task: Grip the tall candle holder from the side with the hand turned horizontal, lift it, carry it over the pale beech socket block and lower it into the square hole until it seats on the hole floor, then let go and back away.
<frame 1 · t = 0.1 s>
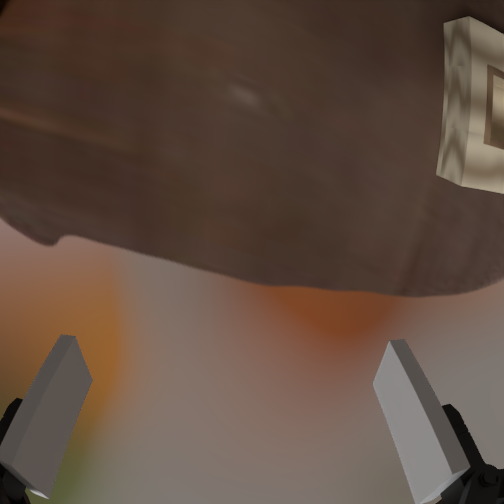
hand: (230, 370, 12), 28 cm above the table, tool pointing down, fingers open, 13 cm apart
socket block: (484, 109, 33), on the table
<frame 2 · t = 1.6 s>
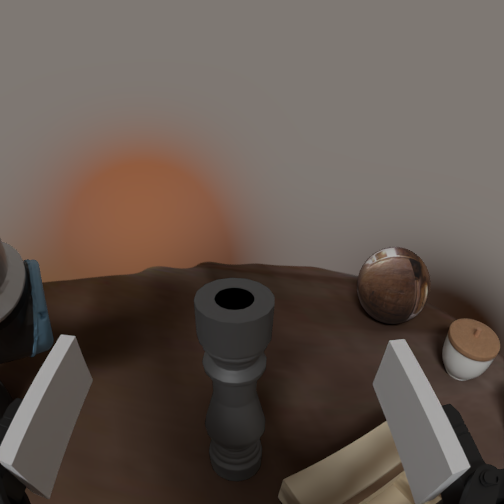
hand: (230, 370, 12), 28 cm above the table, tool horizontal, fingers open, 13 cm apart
lidded jar: (458, 369, 46), on the table
candle holder: (235, 461, 33), on the table
clear glass sphere: (384, 317, 61), on the table
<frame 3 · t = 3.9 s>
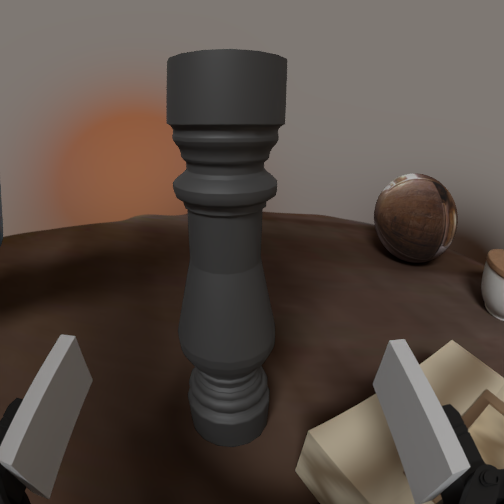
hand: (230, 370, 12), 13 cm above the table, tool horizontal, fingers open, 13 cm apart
lidded jar: (500, 311, 36), on the table
candle holder: (229, 417, 24), on the table
clear glass sphere: (407, 259, 52), on the table
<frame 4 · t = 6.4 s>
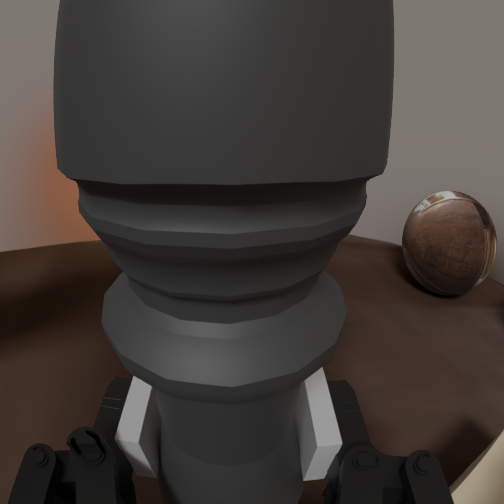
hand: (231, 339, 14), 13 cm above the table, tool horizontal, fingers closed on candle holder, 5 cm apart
clear glass sphere: (436, 288, 43), on the table
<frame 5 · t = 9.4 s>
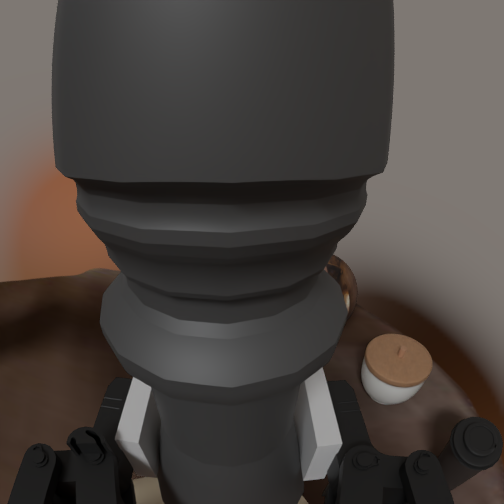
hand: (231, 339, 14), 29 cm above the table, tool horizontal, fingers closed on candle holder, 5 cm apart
lidded jar: (384, 391, 44), on the table
clear glass sphere: (310, 326, 60), on the table
coffee cup: (443, 476, 28), on the table
when the fingers open (15 cm above the table, at t = 12.8 s): candle holder drops 1 cm, resting on socket block.
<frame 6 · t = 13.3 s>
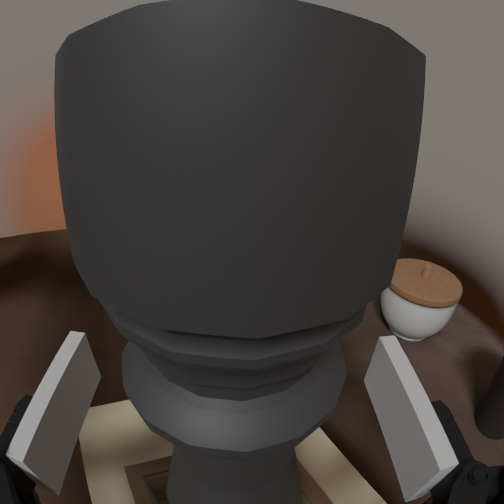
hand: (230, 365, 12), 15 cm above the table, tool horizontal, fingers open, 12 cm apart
lidded jar: (408, 328, 39), on the table
coffee cup: (492, 421, 22), on the table
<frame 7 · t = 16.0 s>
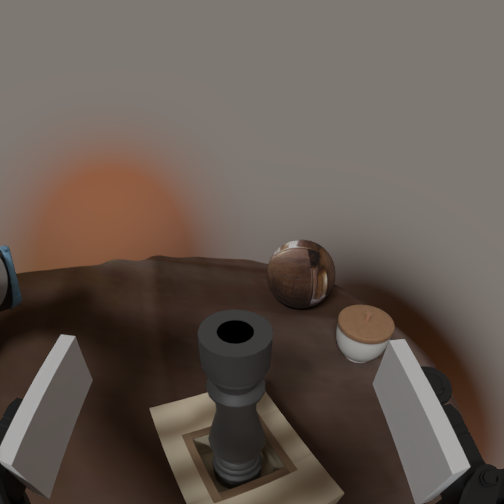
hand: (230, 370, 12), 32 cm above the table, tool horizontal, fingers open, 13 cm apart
lidded jar: (357, 353, 57), on the table
candle holder: (237, 471, 34), point 1 cm above the table, touching socket block
clear glass sphere: (297, 303, 73), on the table
coffee cup: (407, 422, 41), on the table
socket block: (237, 473, 35), on the table
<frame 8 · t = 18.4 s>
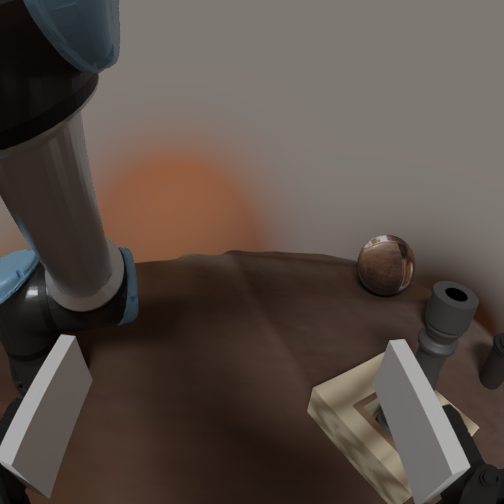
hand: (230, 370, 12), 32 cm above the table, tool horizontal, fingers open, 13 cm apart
candle holder: (389, 432, 39), point 1 cm above the table, touching socket block
clear glass sphere: (380, 291, 78), on the table
coffee cup: (489, 380, 46), on the table
socket block: (387, 434, 39), on the table
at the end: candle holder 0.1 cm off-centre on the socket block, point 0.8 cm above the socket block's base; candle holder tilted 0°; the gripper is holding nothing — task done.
